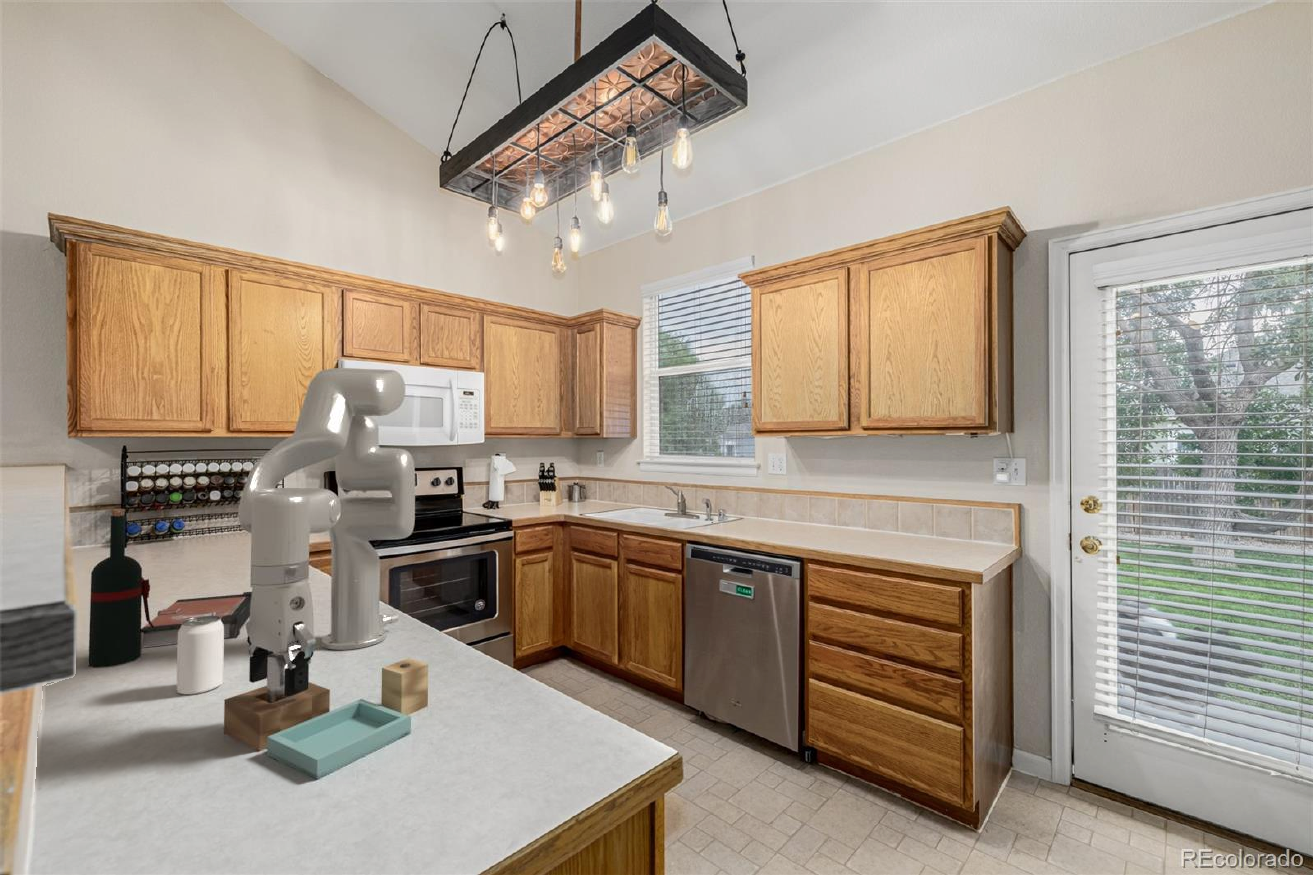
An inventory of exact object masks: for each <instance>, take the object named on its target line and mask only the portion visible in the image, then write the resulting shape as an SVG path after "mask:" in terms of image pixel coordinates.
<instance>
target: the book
mask: <svg viewBox="0 0 1313 875" xmlns="http://www.w3.org/2000/svg"><path fill="white" fill-rule="evenodd" d="M251 595H252V591H244V592H243V593H242V594H231V595H221V596H220V595H219V596H218V595H217V596H207V597H196V598H194V597H193V598H183V599H182V598H181V599H177V600H175V602H174V603H172V604H171V605H169V607H167V608H165V609H162V610H158V611H157V616H155V617H154V619H152V620H150V622H151V623H152V625H153V626H154V628H155V629H156V630H155V629H154V628H152V627H151V626H150V624H149V623H148V622H147V624H145V626H143V627H141V634H143V635H142V636H143V640H142V641H143V642H142V645H141V650H145V649H153V648H161V647H170V646H177V645H178V631H179V629H180V628H181V626H182V624H181V622H183V621H185V620H187V619H191V618H195V617H201V616H220V617H221V621H222V623H223V625H224V640H232V639H237V638H238V637H239V636H240V634H241V633H240V632H241V629H242V627H243V626H244V625H245V624H246V623H247V622H248V620H249V616H250V604H251Z"/></svg>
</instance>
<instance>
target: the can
mask: <svg viewBox="0 0 1313 875" xmlns="http://www.w3.org/2000/svg"><path fill="white" fill-rule="evenodd" d="M181 624H182V626H181V628H180V629H179V631H178V645H176V649H177V650H176V651H177V652H176V654H177V655H176V656H177V657H176V692H177V693H178V694H180V695H184V696H193V695H199V694H204V693H207V692H208V693H209V692H211V691H214V690H215V689H217V688H219V687H221V685H222V684H223V682H224V658H225V657H224V651H225V650H224V649H225V644H224V643H225V639H224V625H223V623H222V621H221V617H220V616H201V617H195V618H191V619H187V620H185V621H183V622H181Z"/></svg>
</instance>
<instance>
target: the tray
mask: <svg viewBox="0 0 1313 875" xmlns="http://www.w3.org/2000/svg"><path fill="white" fill-rule="evenodd" d="M411 728H412V716H410V715H405V714H402V713H400V712H397V711H394V710H391V709H388V708H385V707H383V706H381V705H379V704H376V703H374V702H371V701H368V700H365V699H363V698H360V699H357V700H355V701H353V702H350V703H348V704H345V705H343V706H340V707H338V708H335V709H333V710H329V712H328V713H325V714H323V715H320V716H318V717H315V718H313V719H310V720H308V721H305V722H303V723H300V724H298V725H295V726H293V727H290V728H288V729H285V730H283V731H280V732H278V733H275V734H273V735H270V736H268V737H267V748H266V755H267V756H268V757H271V758H273V759H275V760H276V761H278V762H280V763H282V764H285V765H286V766H289V767H291V768H293V769H295V770H297V771H299V772H301V773H303V774H305V775H306V776H309V777H311V778H313V779H315V780H320V779H321V778H324V777H325V776H327V775H330V774H332V773H333V772H336V771H338V770H340V769H342V768H344V767H345V766H347V765H350V764H352V763H353V762H356V761H358V760H359V759H361V758H364V757H366V756H368V755H370V754H372V753H374V752H376V751H378V750H380V749H381V748H384V747H386V746H388V745H390V744H392V743H394V742H396V741H398V740H400V739H402V738H405V737H406V736H408V735H410V734H411V733H412V729H411Z"/></svg>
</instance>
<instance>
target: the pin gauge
mask: <svg viewBox="0 0 1313 875" xmlns="http://www.w3.org/2000/svg"><path fill="white" fill-rule="evenodd" d="M287 668H288V666H287V663H286V661H285V658H284V656H283V654H279V653H275V652H274V653H273V654H270V655H269V656H268V661H267V678H266V686H267V702H268V703H273V702H276V701H279V700H282V699H284V698H287V697H290V696H285V695H284V681H285V669H287Z"/></svg>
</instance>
